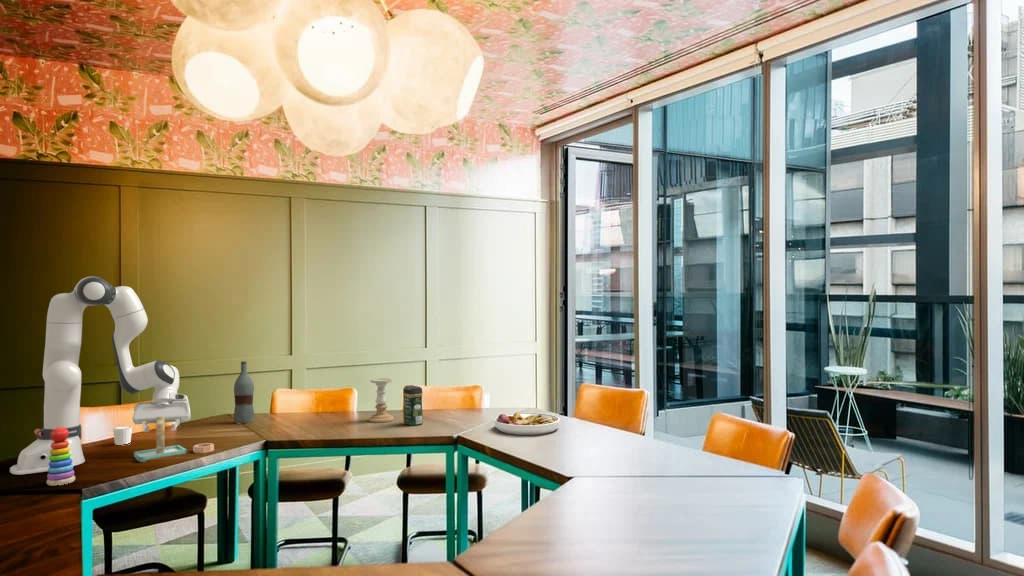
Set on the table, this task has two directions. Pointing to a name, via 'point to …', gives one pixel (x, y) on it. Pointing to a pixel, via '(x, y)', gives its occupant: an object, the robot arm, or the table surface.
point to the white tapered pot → (122, 435)
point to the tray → (151, 454)
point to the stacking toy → (60, 459)
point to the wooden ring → (203, 448)
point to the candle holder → (381, 402)
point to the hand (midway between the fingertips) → (160, 430)
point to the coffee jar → (412, 405)
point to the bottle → (243, 397)
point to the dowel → (160, 435)
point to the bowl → (527, 423)
